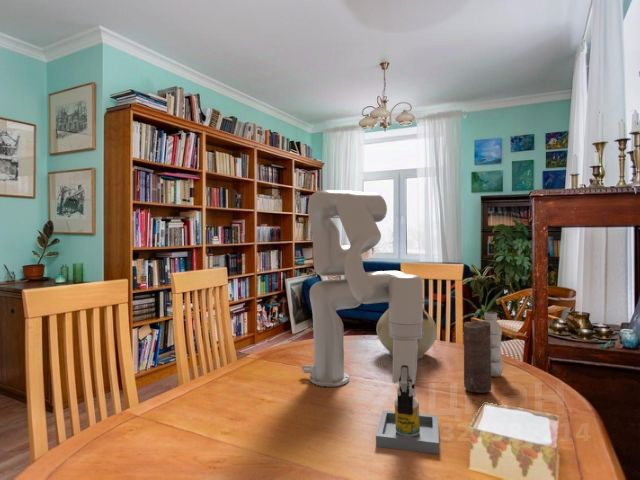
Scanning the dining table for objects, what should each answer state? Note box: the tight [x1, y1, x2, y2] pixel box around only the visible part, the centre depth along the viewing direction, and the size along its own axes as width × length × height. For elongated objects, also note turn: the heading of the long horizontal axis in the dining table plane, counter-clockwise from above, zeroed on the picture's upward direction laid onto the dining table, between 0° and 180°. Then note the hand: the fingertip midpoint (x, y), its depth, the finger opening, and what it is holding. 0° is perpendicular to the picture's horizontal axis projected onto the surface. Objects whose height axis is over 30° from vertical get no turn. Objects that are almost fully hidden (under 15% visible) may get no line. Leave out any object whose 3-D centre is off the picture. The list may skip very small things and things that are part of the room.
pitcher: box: [375, 299, 438, 360], centre depth 148 cm, size 22×24×25 cm
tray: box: [375, 409, 440, 455], centre depth 89 cm, size 13×13×2 cm
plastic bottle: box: [484, 311, 504, 377], centre depth 126 cm, size 6×7×20 cm
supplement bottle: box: [394, 387, 420, 437], centre depth 89 cm, size 5×5×10 cm
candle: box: [463, 320, 492, 394], centre depth 113 cm, size 8×7×20 cm
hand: (406, 404), depth 89 cm, fingers open, 9 cm apart
